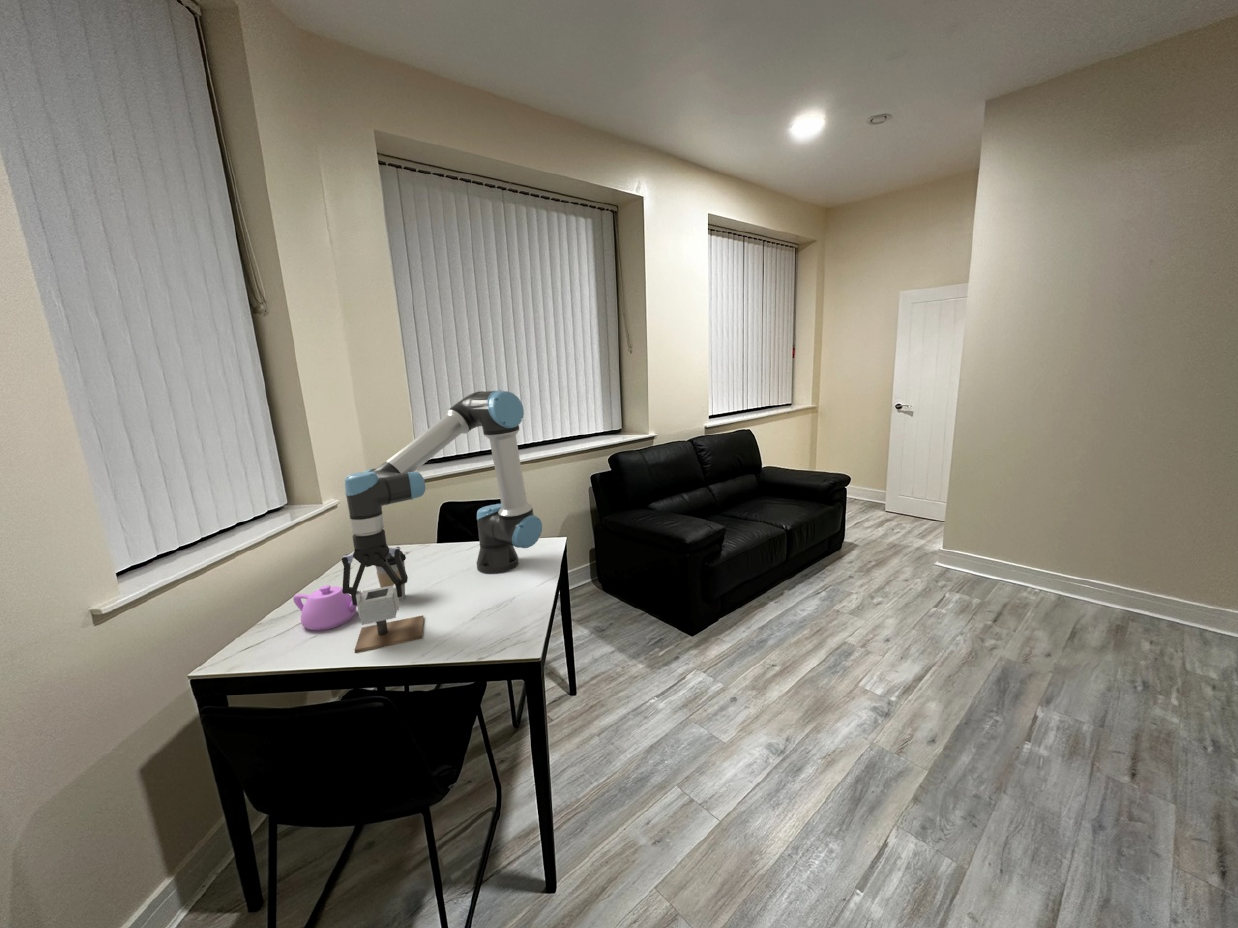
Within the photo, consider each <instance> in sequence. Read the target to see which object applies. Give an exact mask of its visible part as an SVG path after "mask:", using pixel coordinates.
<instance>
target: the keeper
mask: <svg viewBox="0 0 1238 928" xmlns="http://www.w3.org/2000/svg"><path fill="white" fill-rule="evenodd" d="M375 623H376V624H373V625H368V626H364V627H361V628H360V631H359V634H358V637H357V642H356V644H355V648H354V653H360V652H365V651H369V650H374V649H379V648H383V647H388V646H393V645H397V644H401V643H407V642H411V641H415V640H420V639H423V633H424V632H423V631H424V615H418V616H412V617H409V618H403V619H398V620H393V621H389V622H387V620H383V621H378V622H375Z"/></svg>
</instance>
